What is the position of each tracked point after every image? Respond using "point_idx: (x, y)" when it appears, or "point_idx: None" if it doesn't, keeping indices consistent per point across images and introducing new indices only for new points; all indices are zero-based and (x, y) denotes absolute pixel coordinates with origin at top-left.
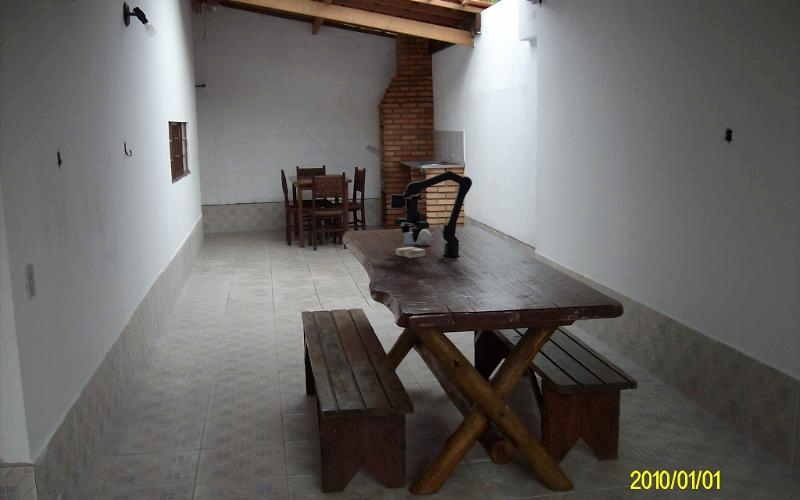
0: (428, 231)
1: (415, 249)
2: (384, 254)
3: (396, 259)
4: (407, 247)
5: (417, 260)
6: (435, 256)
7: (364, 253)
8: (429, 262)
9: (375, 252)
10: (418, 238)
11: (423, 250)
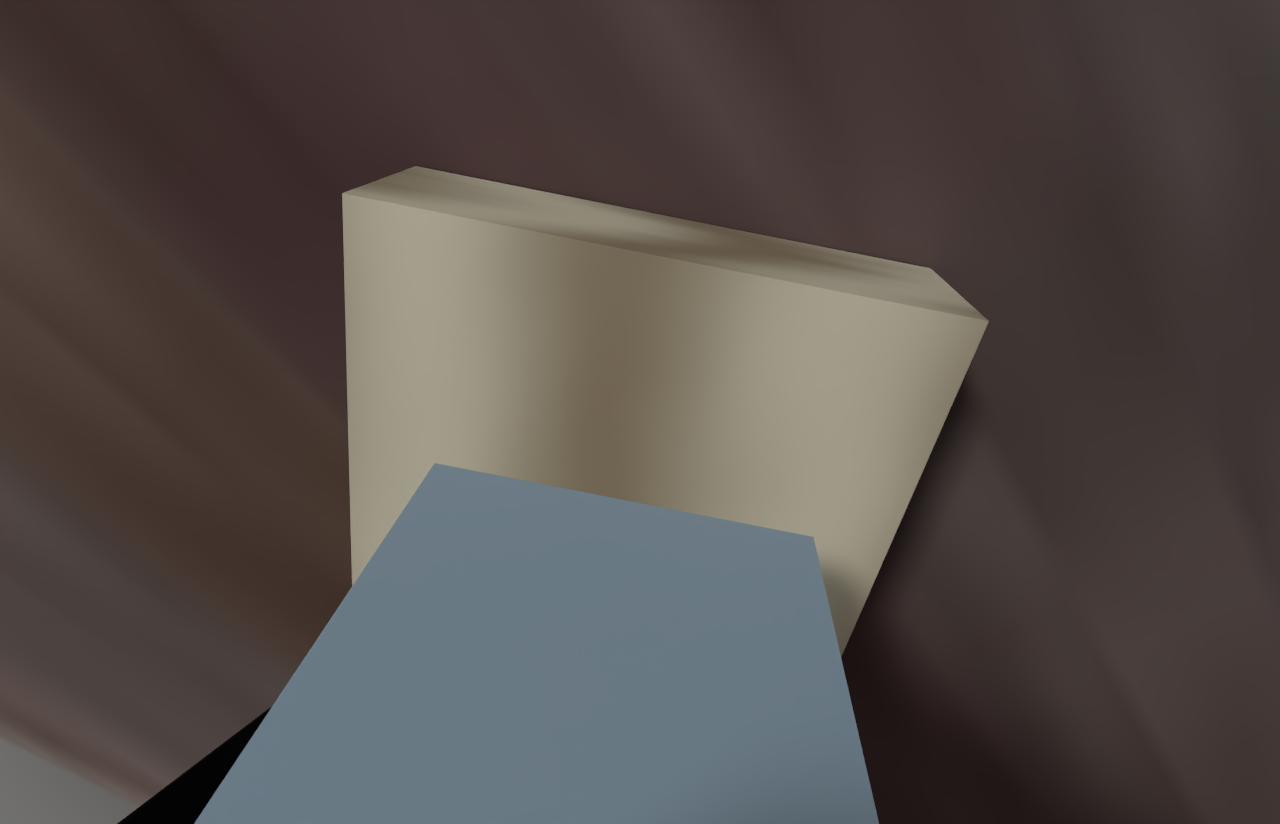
0: None
1: (724, 471)
2: (264, 644)
3: None
4: (370, 368)
5: (1002, 718)
6: (1215, 125)
7: (52, 740)
8: (1272, 735)
9: (35, 602)
10: (846, 698)
11: (950, 389)
